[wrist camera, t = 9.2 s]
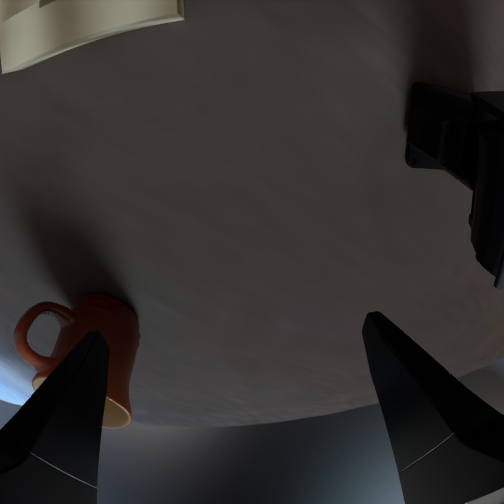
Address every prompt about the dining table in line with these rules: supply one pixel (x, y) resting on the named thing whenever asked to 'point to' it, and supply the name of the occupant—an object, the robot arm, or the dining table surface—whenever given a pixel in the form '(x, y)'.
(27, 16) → the socket board
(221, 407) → the dining table surface
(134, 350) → the mug
